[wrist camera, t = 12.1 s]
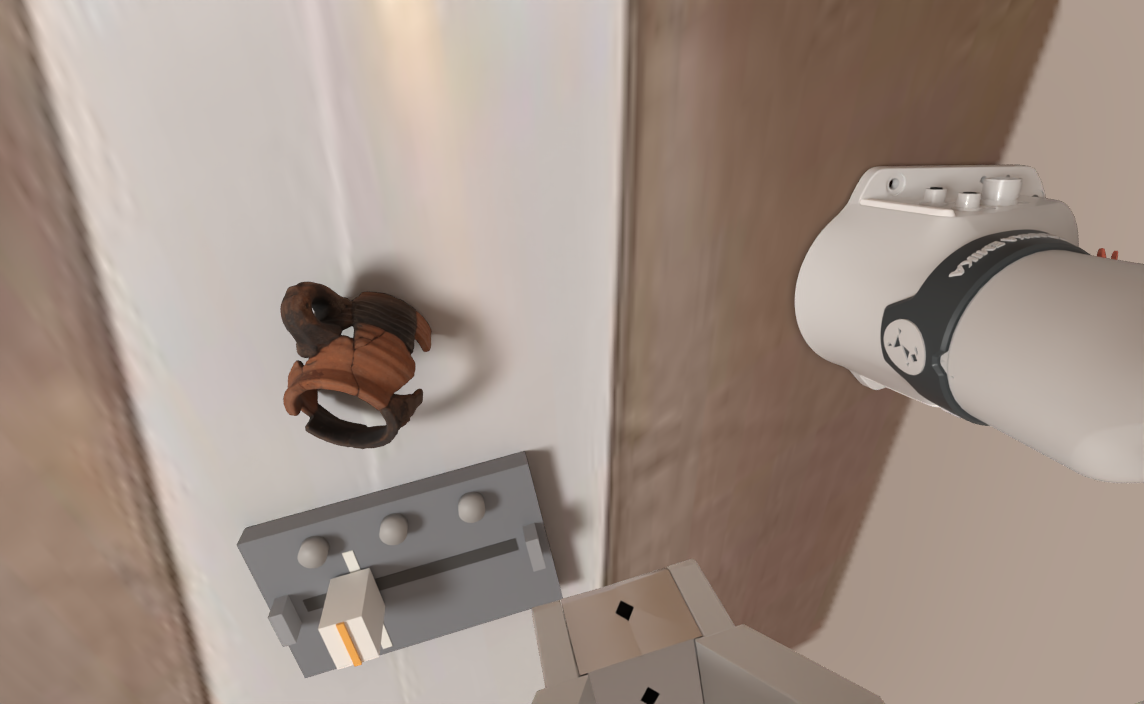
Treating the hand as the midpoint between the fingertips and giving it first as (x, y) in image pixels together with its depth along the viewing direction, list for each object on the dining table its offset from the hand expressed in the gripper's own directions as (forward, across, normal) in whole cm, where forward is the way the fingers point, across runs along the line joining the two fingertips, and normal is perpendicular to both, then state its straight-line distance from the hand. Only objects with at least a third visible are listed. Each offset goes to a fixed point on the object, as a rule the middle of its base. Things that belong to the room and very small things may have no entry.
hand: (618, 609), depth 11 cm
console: (+34, +12, +24) cm, 43 cm away
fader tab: (+32, +16, +24) cm, 43 cm away
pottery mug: (+34, +10, +4) cm, 36 cm away
